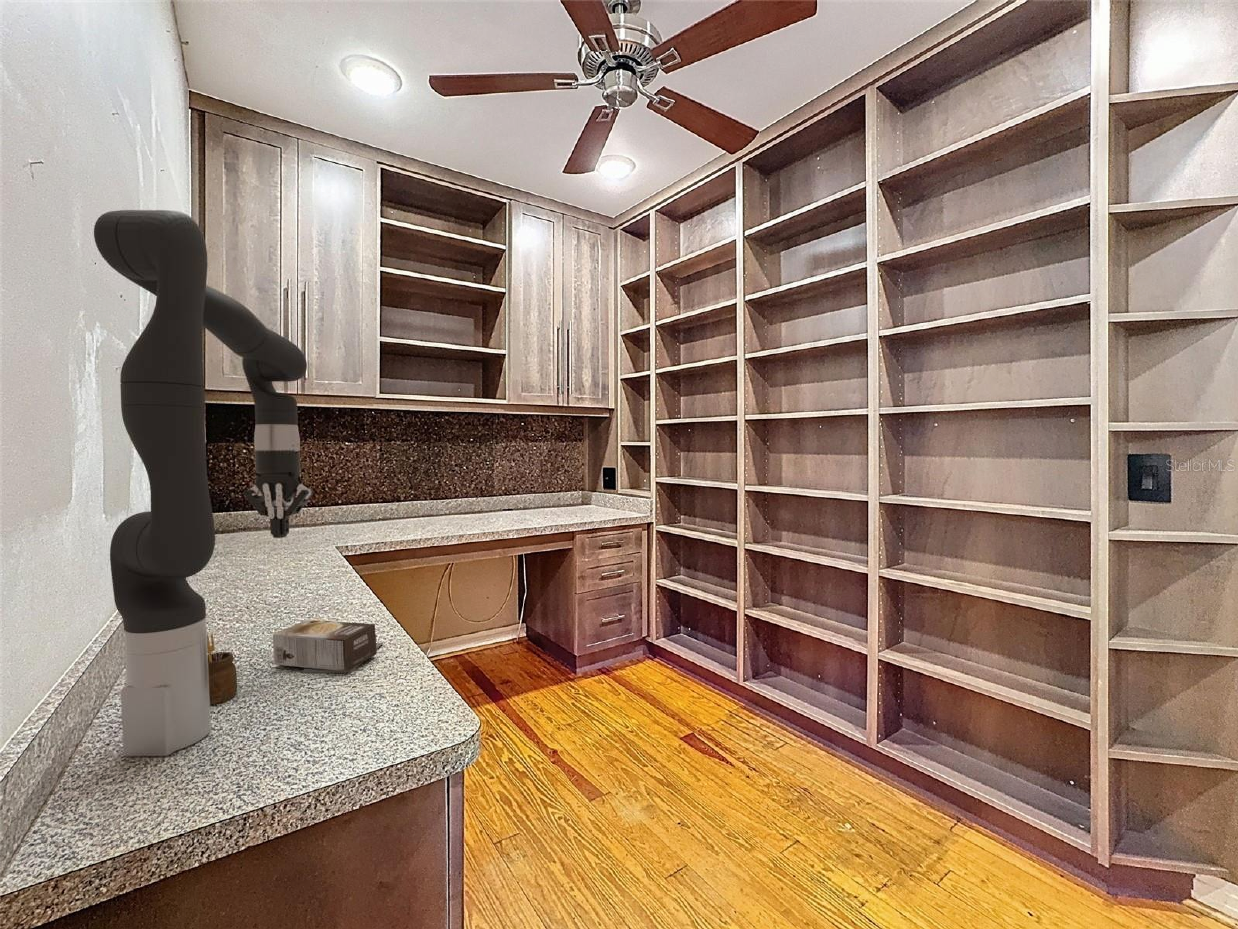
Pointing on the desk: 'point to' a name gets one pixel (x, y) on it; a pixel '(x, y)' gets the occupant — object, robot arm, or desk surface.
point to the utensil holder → (220, 673)
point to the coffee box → (325, 645)
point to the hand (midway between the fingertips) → (280, 537)
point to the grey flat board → (314, 670)
